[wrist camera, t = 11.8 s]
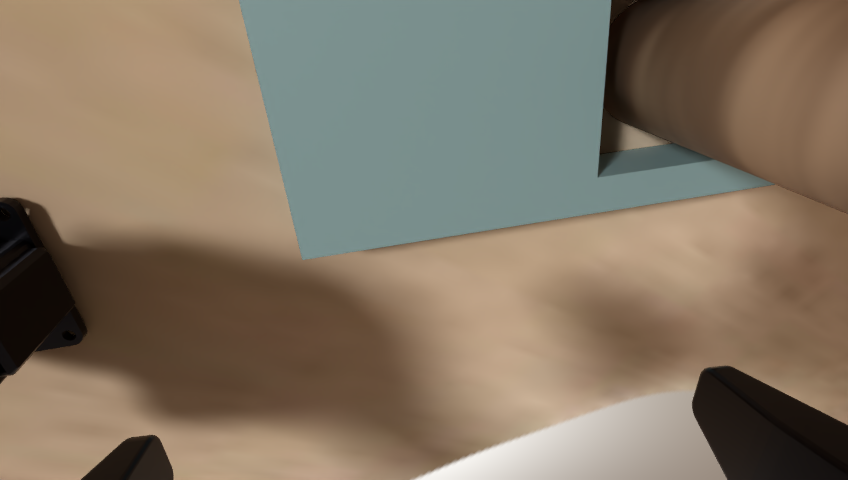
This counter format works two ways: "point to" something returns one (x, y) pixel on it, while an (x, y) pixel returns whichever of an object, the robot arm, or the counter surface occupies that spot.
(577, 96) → the socket stand
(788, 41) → the pepper mill
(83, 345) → the counter surface
